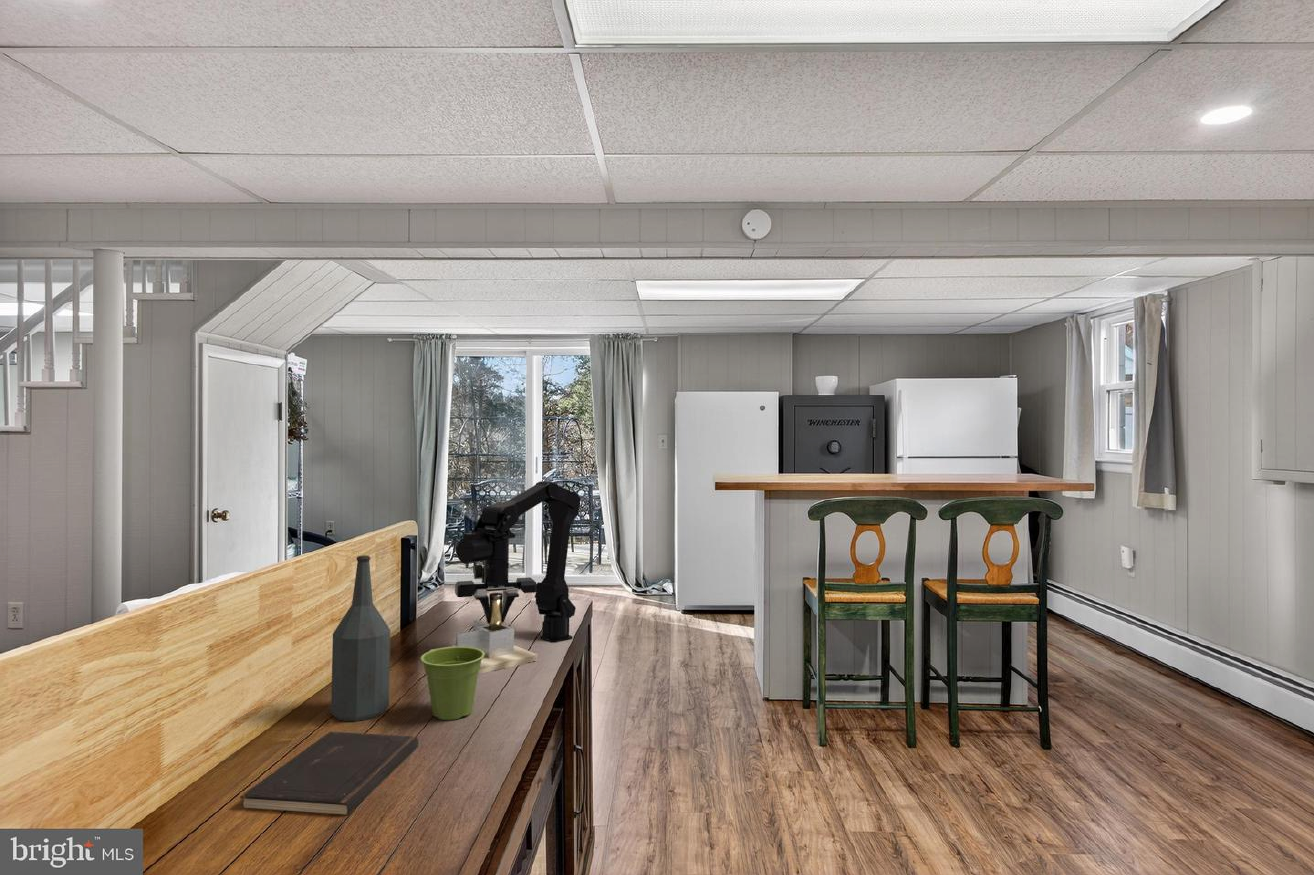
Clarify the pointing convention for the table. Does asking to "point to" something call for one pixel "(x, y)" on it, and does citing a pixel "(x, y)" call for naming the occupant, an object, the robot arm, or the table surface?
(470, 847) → the table surface
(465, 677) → the plant pot
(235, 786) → the table surface
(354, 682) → the bottle
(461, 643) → the beige panel with ridges
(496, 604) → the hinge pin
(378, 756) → the hardcover book
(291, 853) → the table surface
